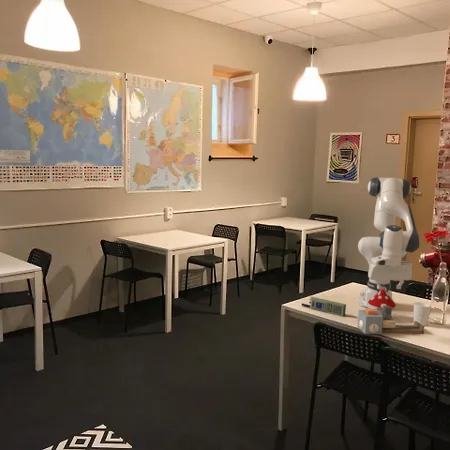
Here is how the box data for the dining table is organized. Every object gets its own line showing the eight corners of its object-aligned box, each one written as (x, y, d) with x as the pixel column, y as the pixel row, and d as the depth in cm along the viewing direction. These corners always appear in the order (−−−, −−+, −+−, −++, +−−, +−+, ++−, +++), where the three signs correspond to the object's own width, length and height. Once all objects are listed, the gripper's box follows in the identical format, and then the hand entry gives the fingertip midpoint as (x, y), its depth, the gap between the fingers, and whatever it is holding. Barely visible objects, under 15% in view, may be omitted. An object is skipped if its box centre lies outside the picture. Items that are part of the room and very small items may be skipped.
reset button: (364, 314, 234) (365, 308, 233) (372, 314, 234) (373, 308, 234) (367, 317, 230) (368, 310, 229) (376, 317, 230) (376, 311, 230)
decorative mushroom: (395, 323, 244) (398, 294, 242) (366, 320, 248) (369, 291, 246) (393, 315, 258) (396, 287, 256) (366, 312, 261) (369, 284, 259)
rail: (374, 327, 237) (374, 320, 237) (415, 327, 239) (416, 320, 239) (380, 333, 229) (381, 326, 229) (423, 333, 231) (424, 326, 231)
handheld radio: (343, 317, 251) (300, 307, 266) (345, 316, 254) (303, 306, 269) (344, 305, 251) (301, 295, 266) (346, 303, 253) (304, 294, 268)
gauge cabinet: (356, 326, 237) (358, 309, 236) (373, 326, 238) (374, 309, 237) (364, 334, 227) (366, 316, 226) (381, 334, 228) (383, 316, 227)
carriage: (377, 322, 236) (378, 304, 235) (389, 322, 237) (390, 304, 236) (382, 327, 230) (384, 309, 228) (395, 327, 230) (396, 309, 229)
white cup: (420, 327, 240) (422, 307, 239) (408, 322, 247) (410, 302, 246) (432, 325, 243) (434, 306, 242) (420, 320, 251) (422, 301, 249)
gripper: (409, 259, 233) (407, 287, 235) (368, 258, 231) (365, 286, 233) (415, 262, 227) (413, 290, 229) (373, 261, 225) (370, 290, 227)
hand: (388, 288), depth 231 cm, fingers open, 8 cm apart
